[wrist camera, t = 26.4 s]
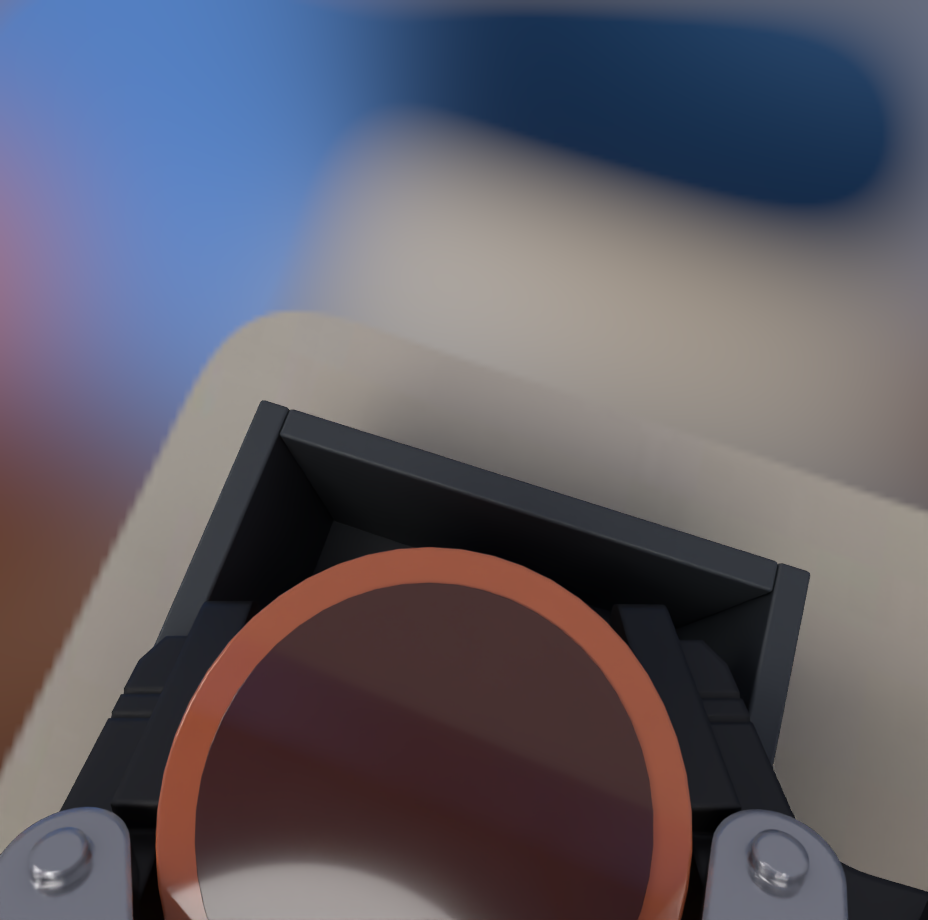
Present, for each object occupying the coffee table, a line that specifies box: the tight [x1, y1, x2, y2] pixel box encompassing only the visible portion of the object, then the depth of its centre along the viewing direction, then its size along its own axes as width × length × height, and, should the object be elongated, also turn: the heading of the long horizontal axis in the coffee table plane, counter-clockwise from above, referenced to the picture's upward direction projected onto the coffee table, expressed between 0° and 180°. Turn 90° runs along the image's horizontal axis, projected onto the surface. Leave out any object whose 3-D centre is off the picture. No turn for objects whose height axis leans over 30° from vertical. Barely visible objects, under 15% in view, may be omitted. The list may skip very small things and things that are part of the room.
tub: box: [154, 401, 810, 767], centre depth 14 cm, size 9×9×6 cm
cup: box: [155, 547, 693, 920], centre depth 11 cm, size 5×5×8 cm
